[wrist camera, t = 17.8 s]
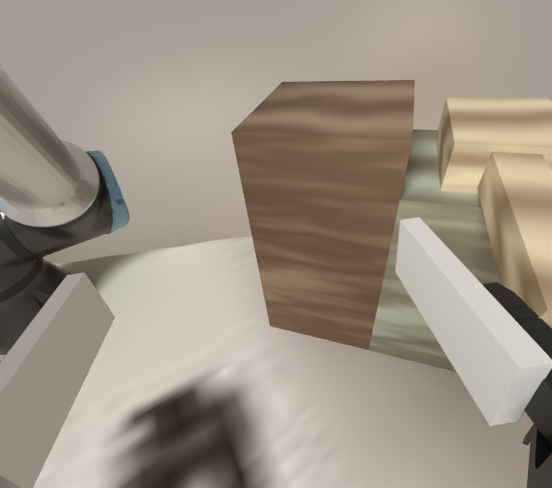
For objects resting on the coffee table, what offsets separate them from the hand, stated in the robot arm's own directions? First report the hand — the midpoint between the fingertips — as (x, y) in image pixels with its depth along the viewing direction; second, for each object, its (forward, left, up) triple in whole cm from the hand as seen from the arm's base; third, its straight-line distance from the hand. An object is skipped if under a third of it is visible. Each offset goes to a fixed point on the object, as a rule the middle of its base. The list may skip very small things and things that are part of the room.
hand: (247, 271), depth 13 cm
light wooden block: (-1, +20, -5) cm, 20 cm away
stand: (-11, +20, -29) cm, 37 cm away
